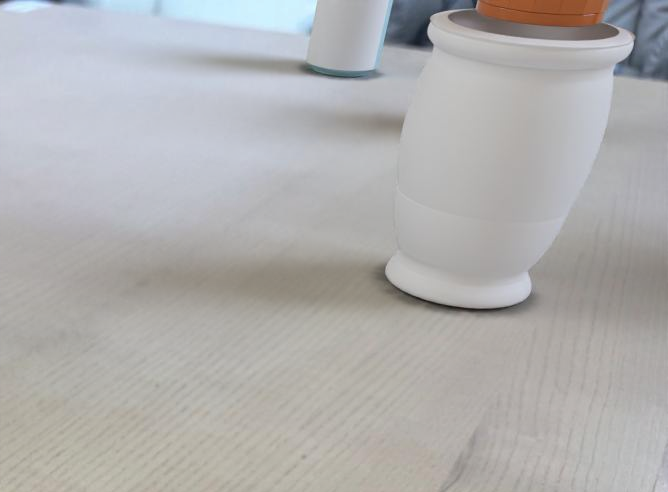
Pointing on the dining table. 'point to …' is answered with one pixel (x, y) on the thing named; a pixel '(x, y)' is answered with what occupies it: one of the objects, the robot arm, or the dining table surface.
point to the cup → (546, 11)
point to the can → (348, 36)
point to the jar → (496, 152)
